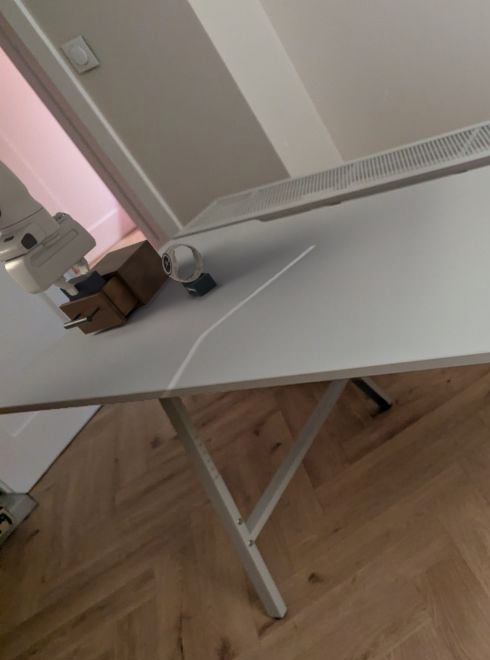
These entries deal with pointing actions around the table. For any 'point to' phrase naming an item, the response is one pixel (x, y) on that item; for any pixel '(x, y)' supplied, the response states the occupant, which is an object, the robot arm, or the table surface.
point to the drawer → (100, 307)
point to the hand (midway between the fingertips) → (83, 286)
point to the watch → (196, 282)
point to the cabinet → (135, 269)
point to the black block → (86, 285)
